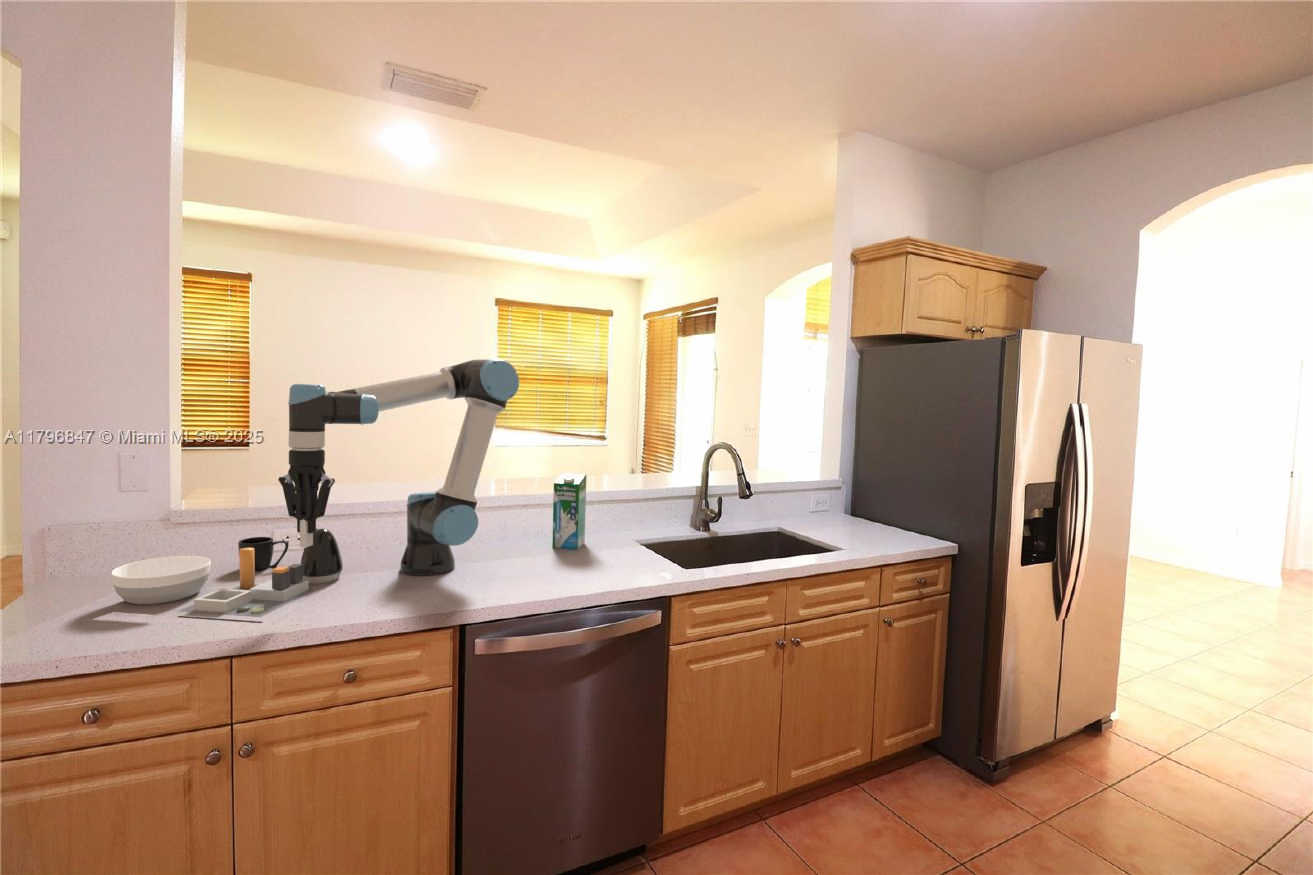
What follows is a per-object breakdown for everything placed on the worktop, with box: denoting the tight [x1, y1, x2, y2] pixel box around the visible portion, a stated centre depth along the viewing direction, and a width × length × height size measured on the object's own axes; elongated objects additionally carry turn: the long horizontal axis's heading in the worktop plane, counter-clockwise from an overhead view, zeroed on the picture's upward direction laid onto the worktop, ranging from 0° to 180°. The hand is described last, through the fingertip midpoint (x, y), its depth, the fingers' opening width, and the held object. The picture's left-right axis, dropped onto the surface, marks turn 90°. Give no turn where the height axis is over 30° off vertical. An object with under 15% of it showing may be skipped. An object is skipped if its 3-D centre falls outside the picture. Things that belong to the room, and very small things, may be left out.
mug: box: [237, 536, 290, 572], centre depth 174 cm, size 8×12×10 cm
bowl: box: [110, 555, 212, 606], centre depth 150 cm, size 19×19×9 cm
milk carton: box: [552, 472, 587, 550], centre depth 216 cm, size 9×9×25 cm
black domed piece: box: [300, 527, 344, 584], centre depth 166 cm, size 10×10×15 cm
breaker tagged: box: [271, 566, 290, 590], centre depth 150 cm, size 2×3×5 cm
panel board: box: [177, 579, 316, 624], centre depth 150 cm, size 20×20×4 cm
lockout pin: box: [238, 548, 256, 590], centre depth 157 cm, size 3×3×10 cm
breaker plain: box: [287, 563, 303, 583], centre depth 155 cm, size 2×3×4 cm
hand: (306, 546), depth 149 cm, fingers closed
